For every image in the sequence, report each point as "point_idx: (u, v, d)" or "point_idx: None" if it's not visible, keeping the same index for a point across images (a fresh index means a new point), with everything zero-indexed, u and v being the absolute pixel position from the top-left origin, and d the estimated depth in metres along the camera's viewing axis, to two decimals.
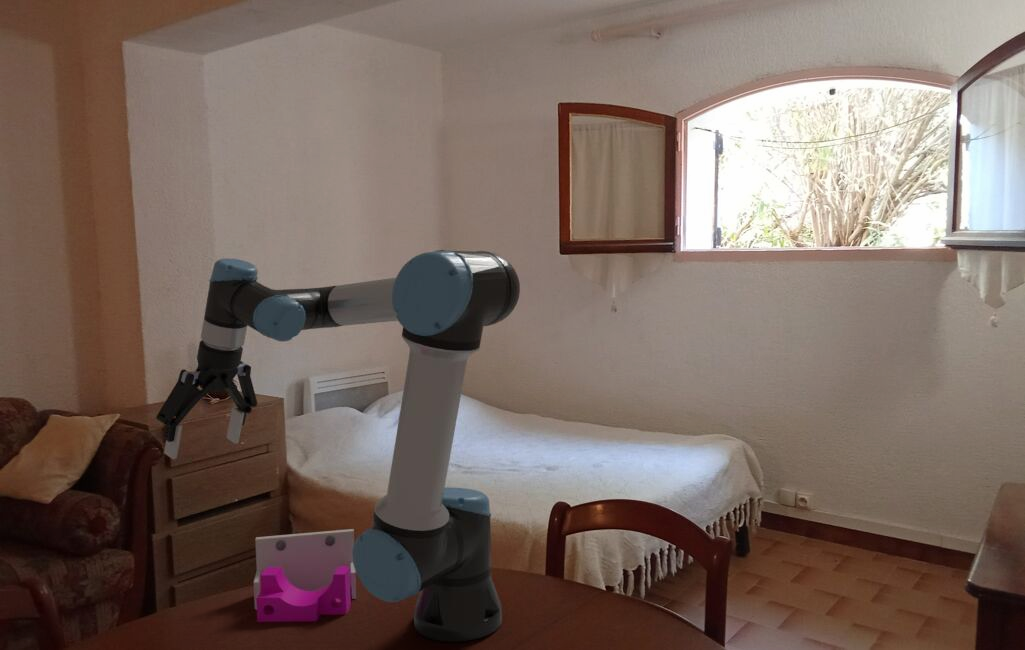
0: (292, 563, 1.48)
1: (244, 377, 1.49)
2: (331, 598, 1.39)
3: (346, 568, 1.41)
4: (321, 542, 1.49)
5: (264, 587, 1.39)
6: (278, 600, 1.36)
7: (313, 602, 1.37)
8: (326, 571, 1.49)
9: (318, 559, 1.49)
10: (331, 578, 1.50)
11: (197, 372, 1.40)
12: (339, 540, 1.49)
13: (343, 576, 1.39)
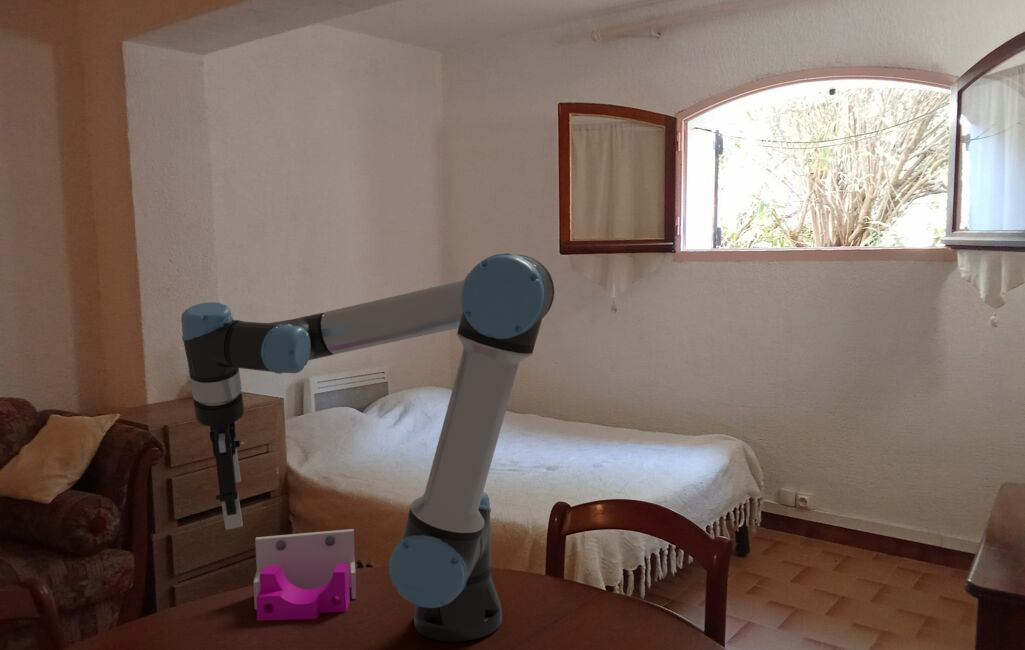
0: (292, 563, 1.48)
1: None
2: (330, 596, 1.40)
3: (345, 566, 1.42)
4: (321, 542, 1.49)
5: (264, 586, 1.39)
6: (278, 599, 1.37)
7: (313, 600, 1.38)
8: (326, 571, 1.49)
9: (318, 559, 1.49)
10: (331, 578, 1.50)
11: (221, 435, 1.27)
12: (339, 540, 1.49)
13: (343, 574, 1.39)
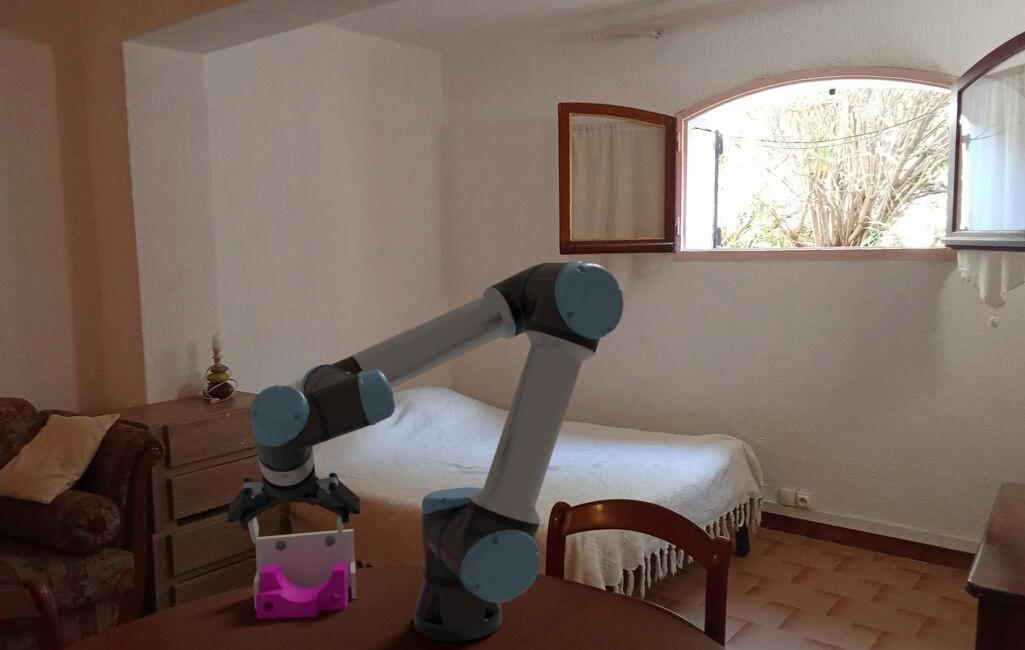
0: (292, 563, 1.48)
1: None
2: (330, 594, 1.41)
3: (344, 564, 1.43)
4: (321, 542, 1.49)
5: (263, 584, 1.40)
6: (278, 597, 1.38)
7: (313, 598, 1.39)
8: (326, 571, 1.49)
9: (318, 559, 1.49)
10: None
11: (319, 481, 1.19)
12: (339, 540, 1.49)
13: (342, 572, 1.40)
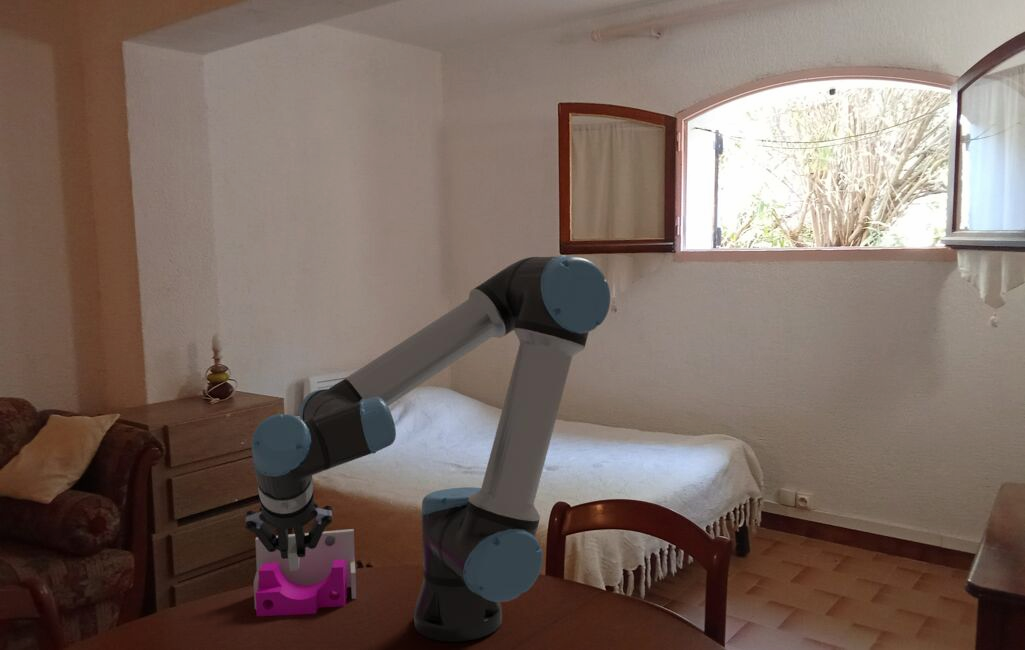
0: None
1: None
2: (329, 591, 1.42)
3: (343, 561, 1.44)
4: (321, 542, 1.49)
5: (262, 582, 1.41)
6: (278, 594, 1.39)
7: (312, 595, 1.40)
8: (326, 571, 1.49)
9: (318, 559, 1.49)
10: None
11: (318, 510, 1.19)
12: (339, 540, 1.49)
13: (341, 569, 1.42)
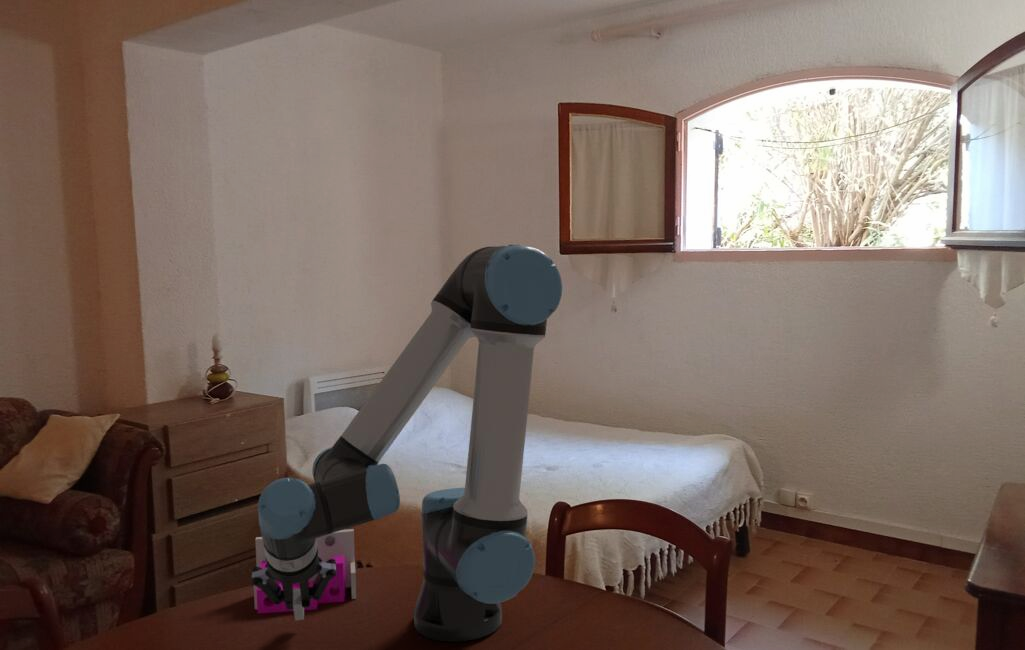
0: None
1: None
2: (329, 587, 1.44)
3: (342, 557, 1.46)
4: (321, 542, 1.49)
5: None
6: None
7: None
8: None
9: None
10: None
11: (322, 564, 1.22)
12: (339, 540, 1.49)
13: (341, 565, 1.44)
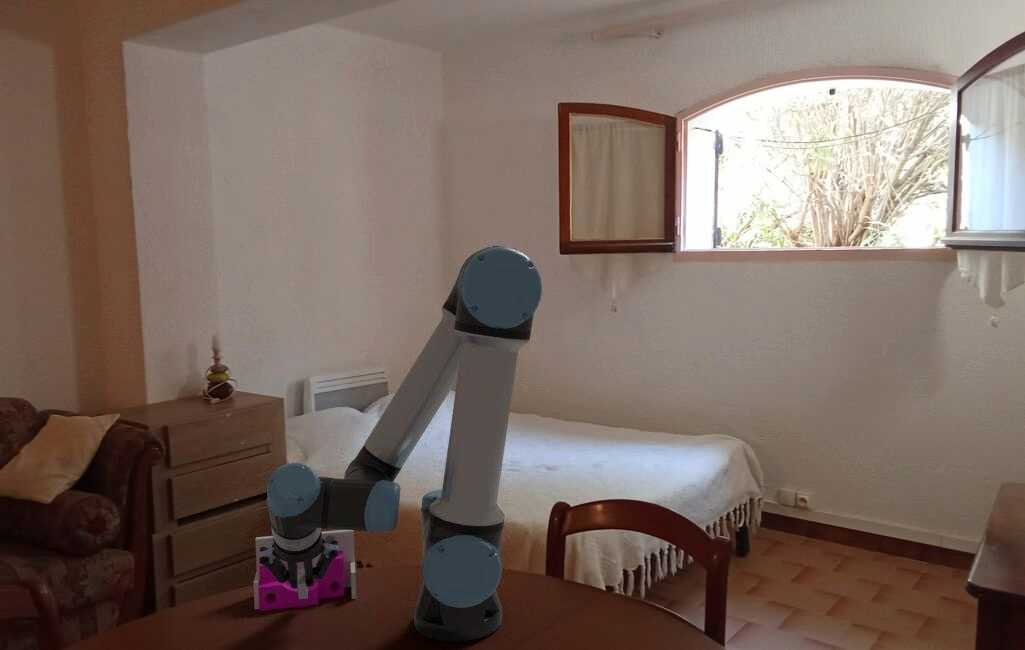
0: None
1: None
2: (329, 582, 1.46)
3: (341, 553, 1.49)
4: None
5: (263, 577, 1.43)
6: (280, 588, 1.42)
7: (314, 587, 1.44)
8: None
9: (318, 559, 1.49)
10: None
11: (325, 545, 1.30)
12: (339, 540, 1.49)
13: (341, 560, 1.46)
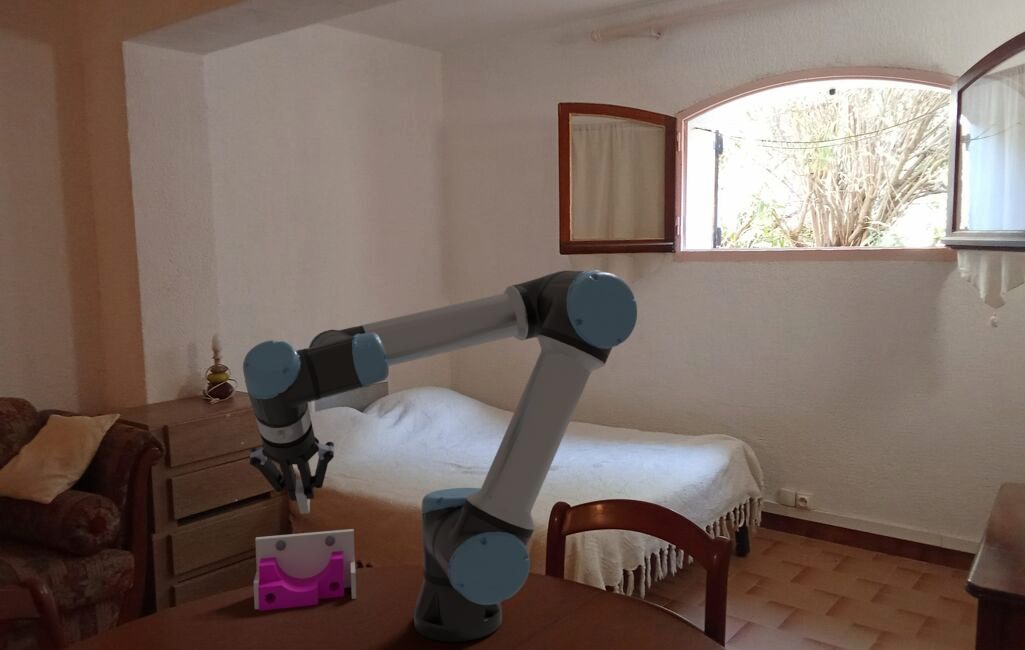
0: (292, 563, 1.48)
1: None
2: (329, 582, 1.46)
3: (341, 553, 1.49)
4: (321, 542, 1.49)
5: (262, 577, 1.43)
6: (280, 588, 1.42)
7: (314, 587, 1.44)
8: None
9: (318, 559, 1.49)
10: None
11: (319, 445, 1.21)
12: (339, 540, 1.49)
13: (341, 560, 1.46)
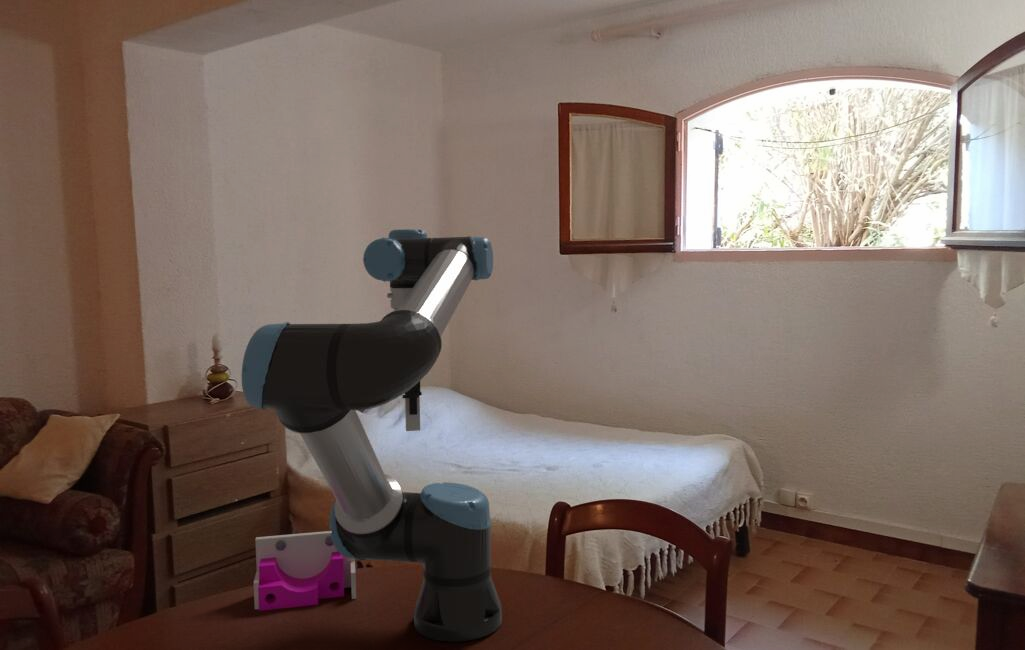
0: (292, 563, 1.48)
1: None
2: (329, 583, 1.46)
3: None
4: (321, 542, 1.49)
5: (262, 577, 1.43)
6: (280, 588, 1.42)
7: (314, 587, 1.44)
8: None
9: (318, 559, 1.49)
10: None
11: None
12: None
13: (341, 560, 1.46)
